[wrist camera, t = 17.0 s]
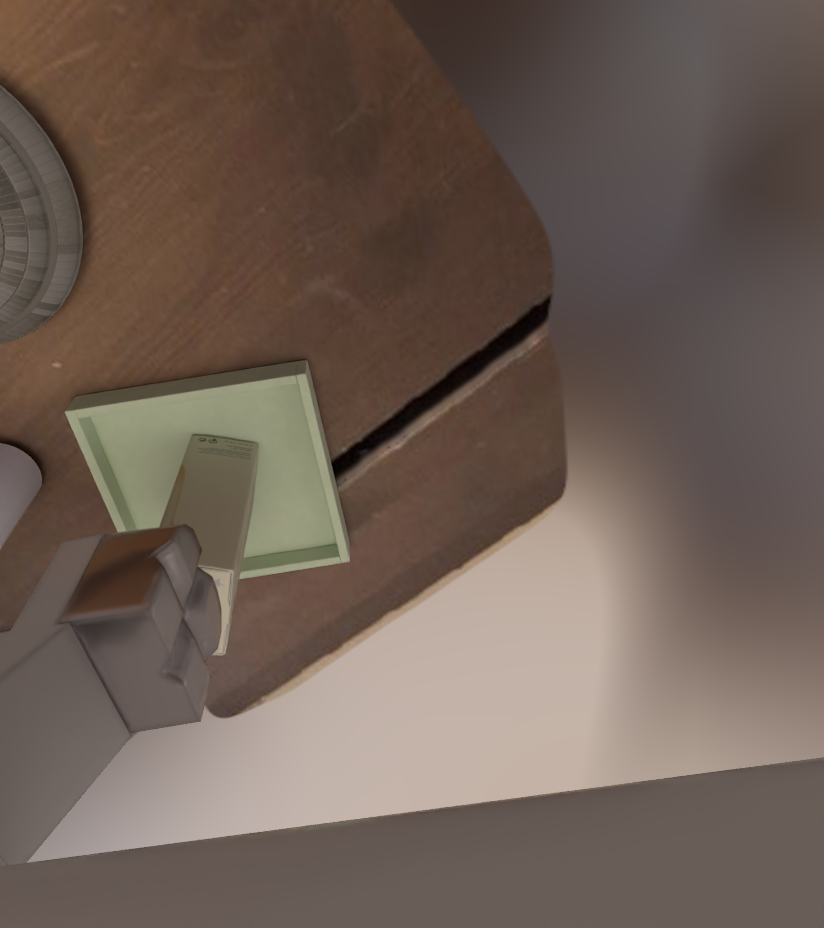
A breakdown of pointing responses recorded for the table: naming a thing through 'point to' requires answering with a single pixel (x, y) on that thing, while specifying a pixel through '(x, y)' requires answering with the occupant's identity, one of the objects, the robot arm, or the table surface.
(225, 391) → the tray
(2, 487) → the perfume bottle
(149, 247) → the table surface
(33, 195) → the flying saucer
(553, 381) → the table surface
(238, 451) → the cosmetic box
